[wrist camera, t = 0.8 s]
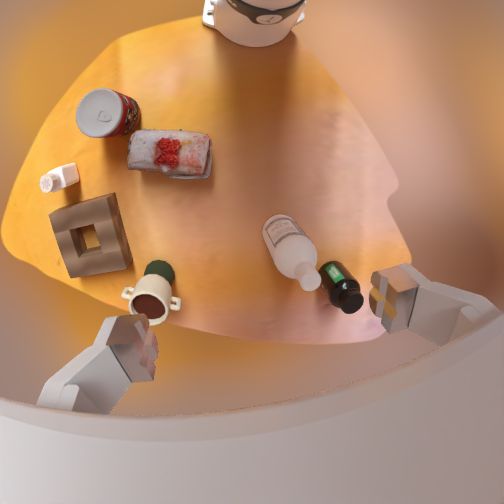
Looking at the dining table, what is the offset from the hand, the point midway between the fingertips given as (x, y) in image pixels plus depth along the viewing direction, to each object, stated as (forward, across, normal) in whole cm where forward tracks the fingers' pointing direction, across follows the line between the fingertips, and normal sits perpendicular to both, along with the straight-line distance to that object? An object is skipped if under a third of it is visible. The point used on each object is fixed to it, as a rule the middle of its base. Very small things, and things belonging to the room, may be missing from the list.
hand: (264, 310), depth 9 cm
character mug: (+42, +16, +19) cm, 49 cm away
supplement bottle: (+42, -19, +26) cm, 53 cm away
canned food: (+42, +17, -13) cm, 47 cm away
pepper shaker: (+42, +30, -6) cm, 52 cm away
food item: (+42, +8, -4) cm, 43 cm away
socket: (+42, +28, +7) cm, 51 cm away
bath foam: (+42, -8, +14) cm, 45 cm away
